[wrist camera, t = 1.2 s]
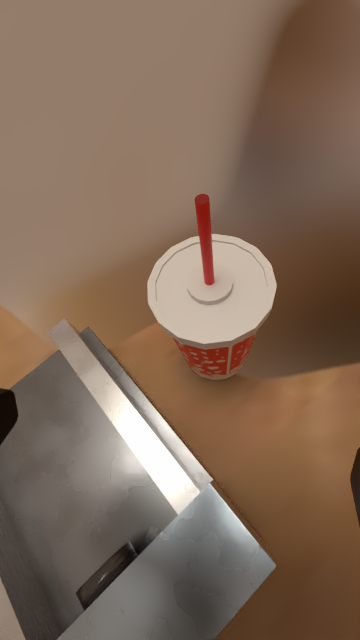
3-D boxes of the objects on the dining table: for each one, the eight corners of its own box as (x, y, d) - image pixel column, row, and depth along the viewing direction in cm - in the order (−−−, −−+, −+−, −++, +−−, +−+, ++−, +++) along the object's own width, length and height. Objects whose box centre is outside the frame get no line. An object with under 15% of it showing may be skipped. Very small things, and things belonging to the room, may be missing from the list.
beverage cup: (240, 303, 24) (255, 120, 11) (271, 376, 21) (339, 239, 8) (166, 326, 24) (98, 169, 11) (187, 402, 21) (129, 304, 8)
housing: (263, 540, 17) (276, 566, 12) (74, 754, 14) (5, 884, 10) (93, 331, 24) (63, 301, 20) (-51, 447, 22) (-123, 441, 17)
